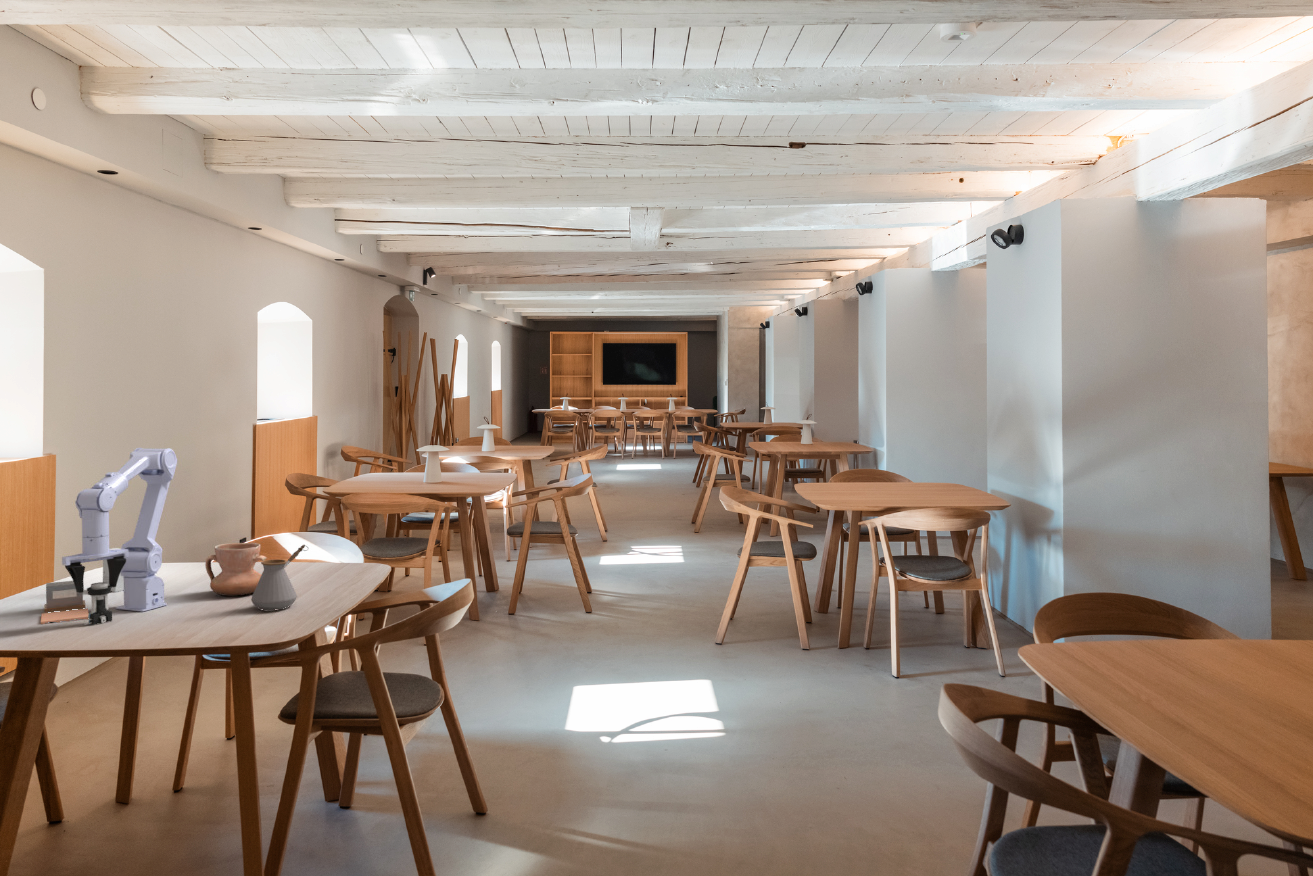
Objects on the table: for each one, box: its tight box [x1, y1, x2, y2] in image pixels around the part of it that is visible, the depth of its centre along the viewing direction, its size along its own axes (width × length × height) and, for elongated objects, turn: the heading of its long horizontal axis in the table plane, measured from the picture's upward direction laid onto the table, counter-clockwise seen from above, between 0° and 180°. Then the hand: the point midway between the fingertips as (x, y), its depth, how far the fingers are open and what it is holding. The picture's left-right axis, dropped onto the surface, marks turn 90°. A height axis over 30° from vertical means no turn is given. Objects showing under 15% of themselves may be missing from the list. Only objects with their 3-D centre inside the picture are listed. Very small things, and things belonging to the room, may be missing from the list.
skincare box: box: [102, 547, 124, 593], centre depth 249 cm, size 6×4×12 cm
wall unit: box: [43, 580, 86, 613], centre depth 226 cm, size 6×9×7 cm, turn 125°
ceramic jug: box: [204, 542, 267, 597], centre depth 247 cm, size 18×14×14 cm
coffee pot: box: [250, 544, 309, 610], centre depth 235 cm, size 21×12×15 cm, turn 172°
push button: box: [82, 581, 113, 625], centre depth 213 cm, size 7×5×10 cm
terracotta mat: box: [40, 607, 89, 625], centre depth 218 cm, size 10×10×1 cm
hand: (96, 589), depth 212 cm, fingers open, 7 cm apart
